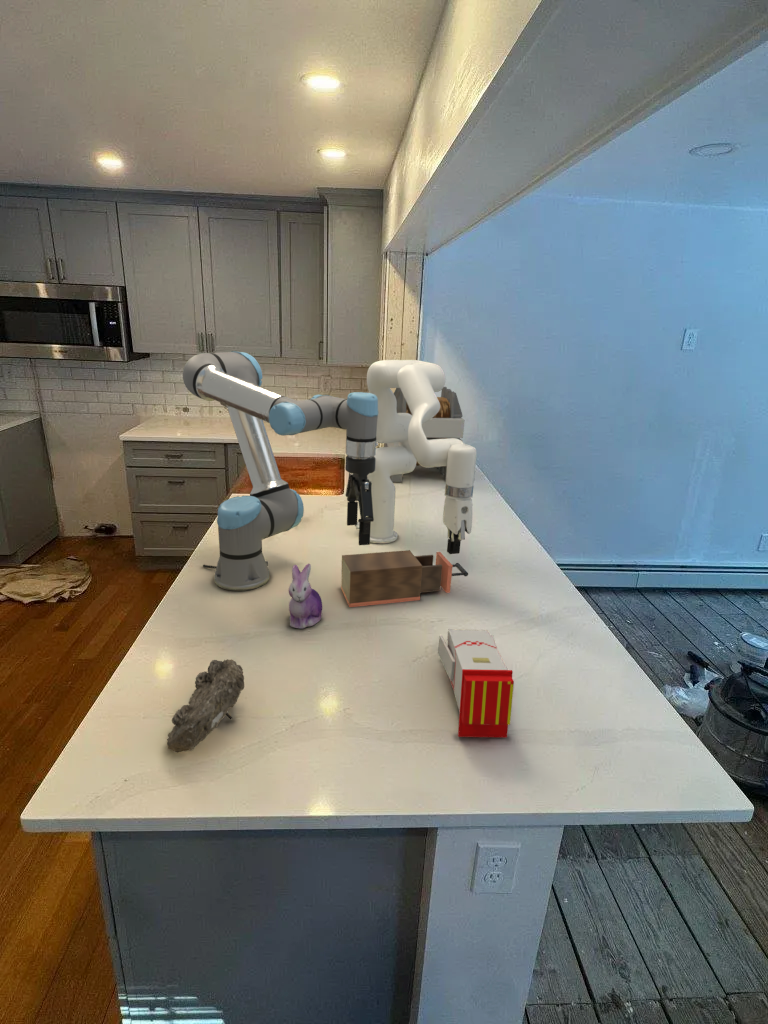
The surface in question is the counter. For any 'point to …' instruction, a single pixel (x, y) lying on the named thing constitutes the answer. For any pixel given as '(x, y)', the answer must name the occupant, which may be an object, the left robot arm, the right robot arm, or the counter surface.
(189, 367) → the left robot arm
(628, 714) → the counter surface
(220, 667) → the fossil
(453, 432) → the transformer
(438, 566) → the drawer
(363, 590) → the cabinet
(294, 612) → the figurine
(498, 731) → the toy
